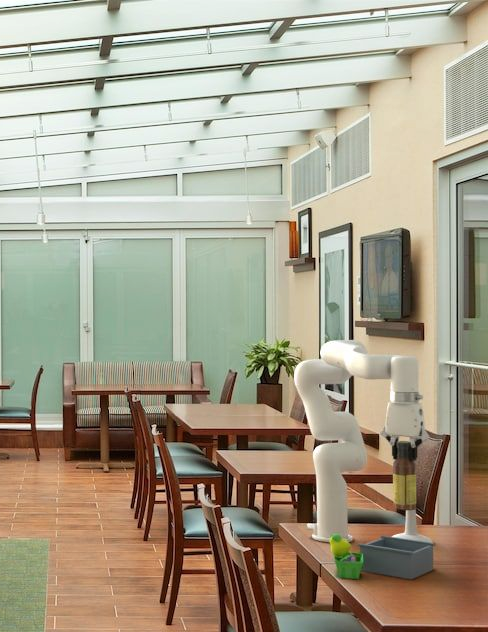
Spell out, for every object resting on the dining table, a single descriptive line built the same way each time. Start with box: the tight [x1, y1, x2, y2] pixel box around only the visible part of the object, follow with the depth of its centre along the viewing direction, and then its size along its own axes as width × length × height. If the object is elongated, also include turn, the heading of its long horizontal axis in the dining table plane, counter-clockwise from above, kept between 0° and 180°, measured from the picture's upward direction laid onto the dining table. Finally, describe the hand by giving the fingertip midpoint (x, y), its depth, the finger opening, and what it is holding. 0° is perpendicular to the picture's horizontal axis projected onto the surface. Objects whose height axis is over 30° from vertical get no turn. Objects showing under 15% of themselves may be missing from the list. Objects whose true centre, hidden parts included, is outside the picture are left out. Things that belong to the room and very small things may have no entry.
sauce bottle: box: [392, 440, 417, 511], centre depth 282 cm, size 7×6×20 cm
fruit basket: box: [329, 534, 363, 580], centre depth 270 cm, size 11×9×11 cm
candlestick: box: [391, 509, 434, 543], centre depth 312 cm, size 13×13×30 cm
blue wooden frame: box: [357, 534, 436, 580], centre depth 275 cm, size 15×16×8 cm
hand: (404, 459), depth 283 cm, fingers closed on sauce bottle, 4 cm apart
